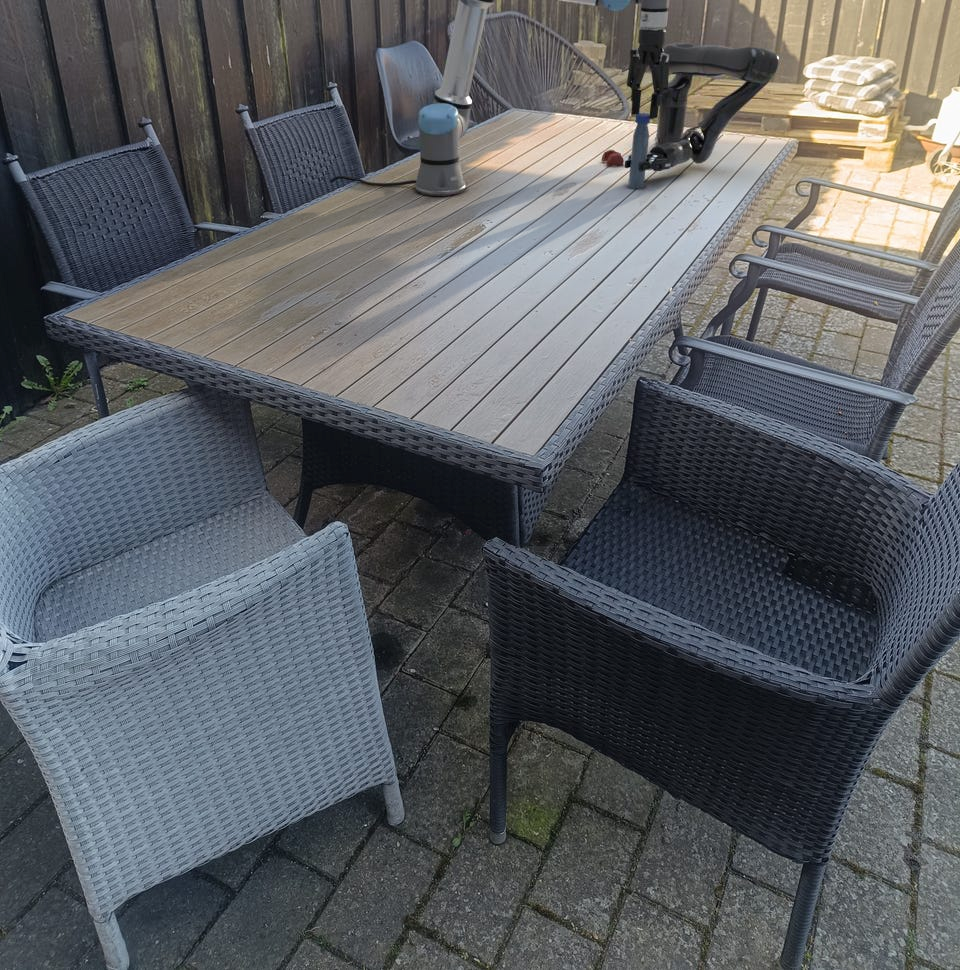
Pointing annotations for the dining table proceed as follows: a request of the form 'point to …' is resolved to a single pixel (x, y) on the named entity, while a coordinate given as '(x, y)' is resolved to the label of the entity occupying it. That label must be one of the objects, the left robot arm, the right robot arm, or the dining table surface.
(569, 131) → the dining table surface
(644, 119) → the cap
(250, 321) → the dining table surface
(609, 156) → the dental model
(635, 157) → the bottle
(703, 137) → the right robot arm
